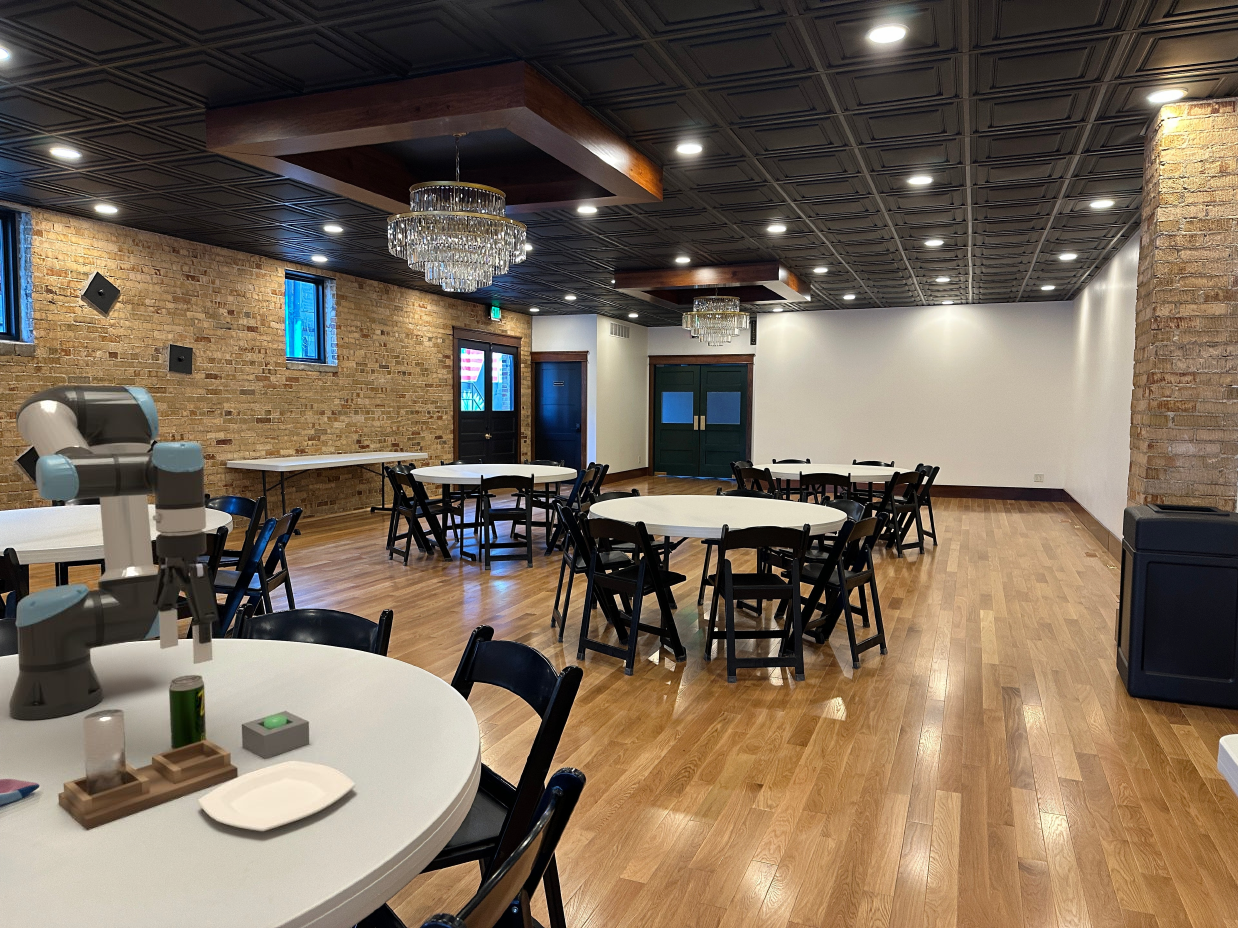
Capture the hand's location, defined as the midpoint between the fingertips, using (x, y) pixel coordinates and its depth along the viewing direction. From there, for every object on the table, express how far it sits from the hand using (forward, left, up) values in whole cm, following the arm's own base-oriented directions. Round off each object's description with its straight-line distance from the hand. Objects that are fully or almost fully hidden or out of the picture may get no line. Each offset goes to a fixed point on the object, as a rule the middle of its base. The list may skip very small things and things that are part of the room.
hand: (185, 654), depth 138 cm
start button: (+11, +10, -15) cm, 21 cm away
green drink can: (0, 0, -17) cm, 17 cm away
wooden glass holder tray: (+12, -10, -16) cm, 23 cm away
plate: (+31, 0, -17) cm, 35 cm away
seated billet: (+12, -16, -15) cm, 25 cm away
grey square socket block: (+11, +10, -16) cm, 22 cm away
